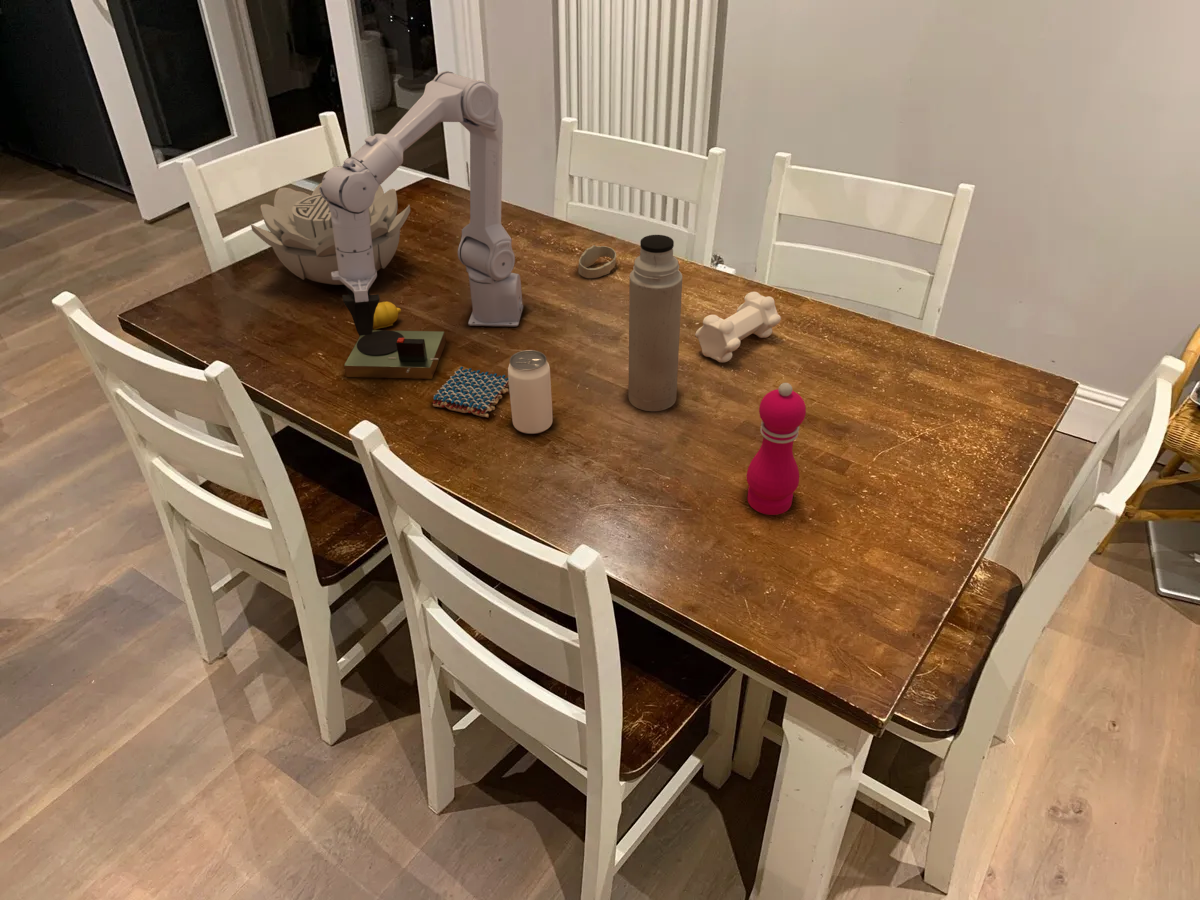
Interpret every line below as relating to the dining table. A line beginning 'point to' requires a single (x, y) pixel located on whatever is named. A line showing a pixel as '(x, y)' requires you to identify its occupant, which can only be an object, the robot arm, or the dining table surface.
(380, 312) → the lemon
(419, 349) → the black block
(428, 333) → the hob
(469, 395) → the woven mat
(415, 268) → the dining table surface
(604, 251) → the grey oval ring
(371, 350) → the burner
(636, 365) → the thermos bottle
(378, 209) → the decorative bowl
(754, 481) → the pepper mill
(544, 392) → the can
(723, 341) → the bone shaped toy
